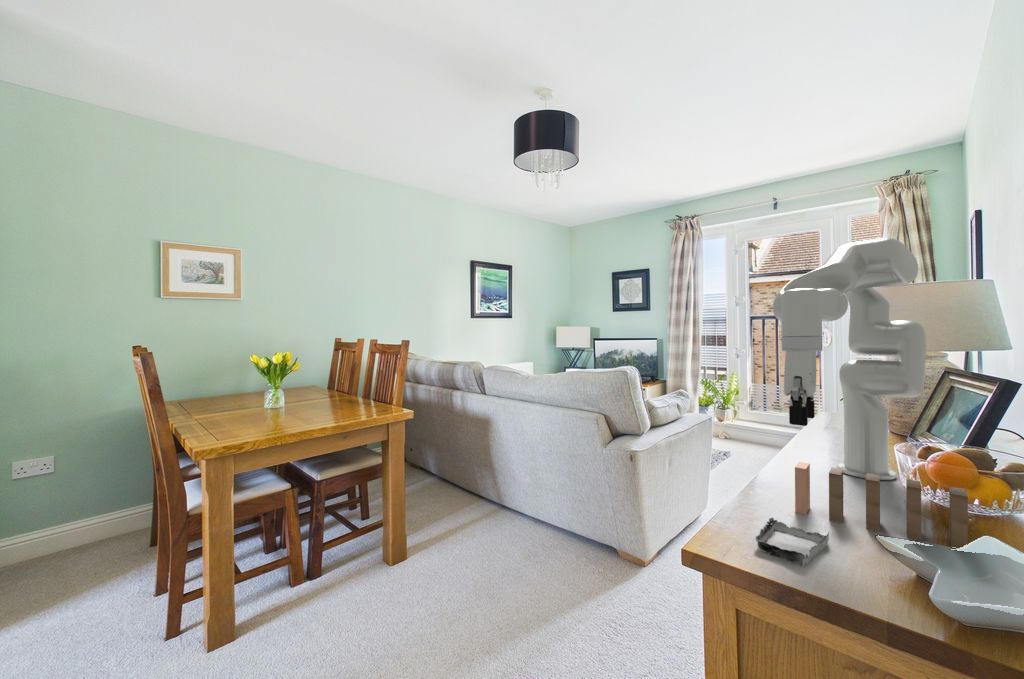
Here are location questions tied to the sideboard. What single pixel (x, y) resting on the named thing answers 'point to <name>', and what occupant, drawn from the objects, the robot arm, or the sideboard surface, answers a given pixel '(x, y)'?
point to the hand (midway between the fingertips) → (802, 421)
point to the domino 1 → (802, 488)
